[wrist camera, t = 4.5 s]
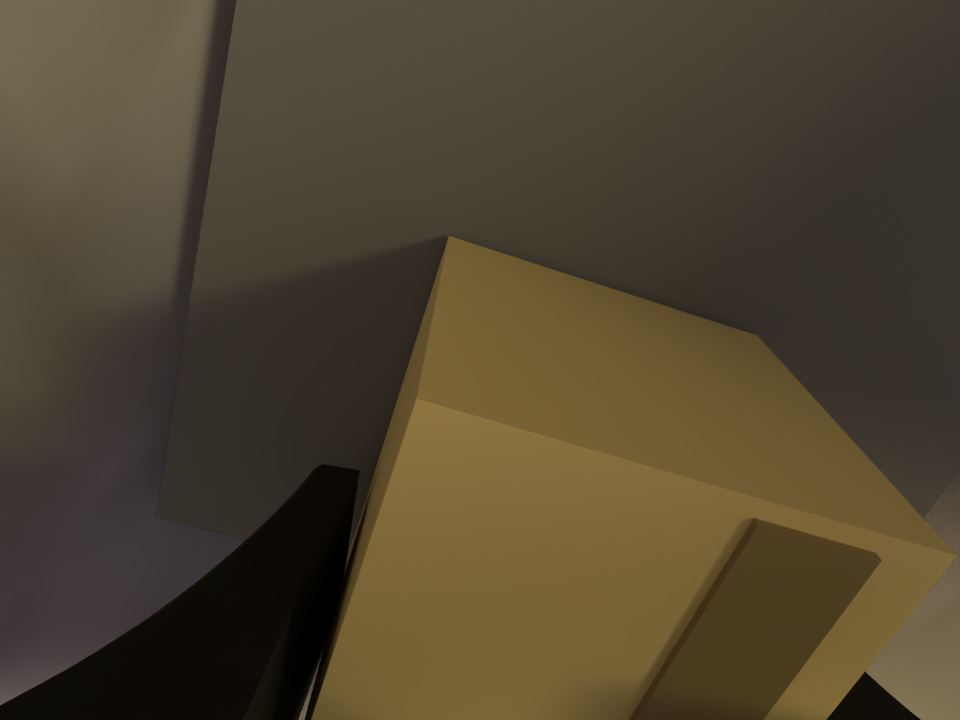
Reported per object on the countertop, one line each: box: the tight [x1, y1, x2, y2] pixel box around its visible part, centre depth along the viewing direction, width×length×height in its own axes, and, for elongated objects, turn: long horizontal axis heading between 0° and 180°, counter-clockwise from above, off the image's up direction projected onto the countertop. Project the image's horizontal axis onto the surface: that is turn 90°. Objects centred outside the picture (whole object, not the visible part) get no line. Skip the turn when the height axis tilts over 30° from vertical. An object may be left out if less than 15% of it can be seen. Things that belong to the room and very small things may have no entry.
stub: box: [305, 236, 957, 720], centre depth 9 cm, size 5×6×5 cm
